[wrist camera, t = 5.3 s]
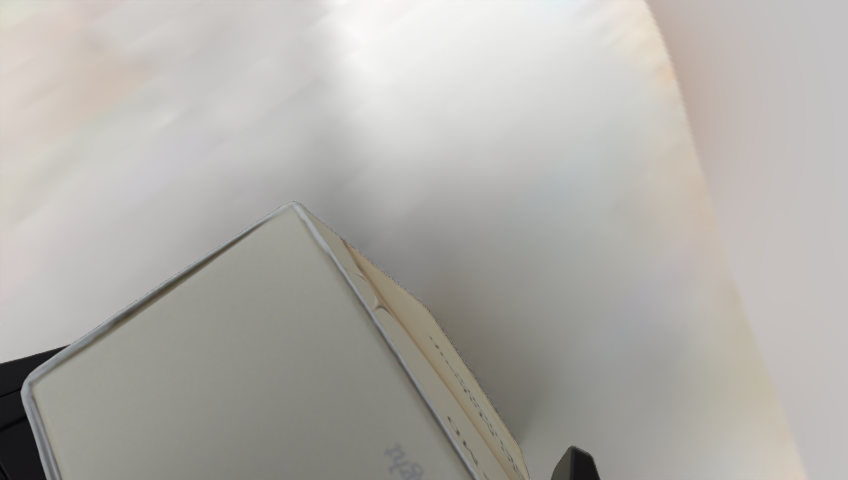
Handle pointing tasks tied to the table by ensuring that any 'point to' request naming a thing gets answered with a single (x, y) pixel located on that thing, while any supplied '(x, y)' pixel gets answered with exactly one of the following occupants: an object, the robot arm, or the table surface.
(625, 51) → the table surface
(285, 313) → the skincare box
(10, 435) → the robot arm
